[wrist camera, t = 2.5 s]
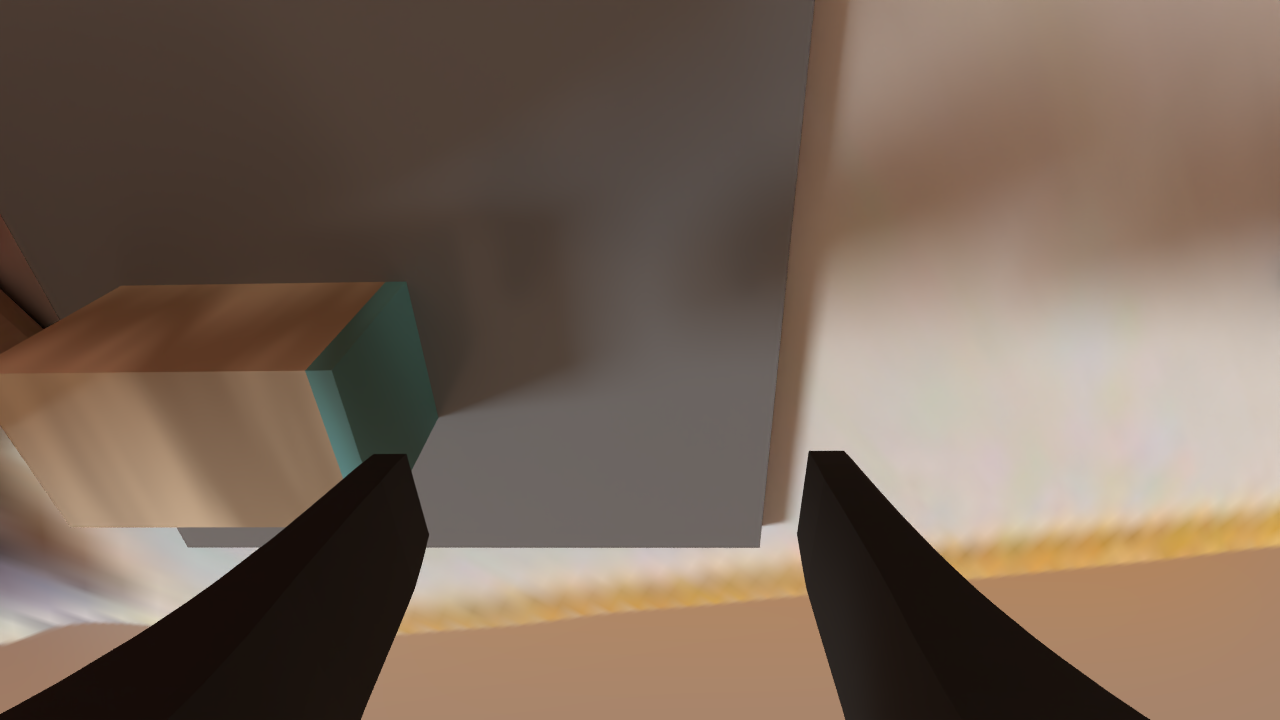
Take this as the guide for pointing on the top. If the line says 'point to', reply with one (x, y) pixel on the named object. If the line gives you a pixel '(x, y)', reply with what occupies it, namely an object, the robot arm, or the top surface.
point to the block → (14, 324)
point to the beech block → (216, 400)
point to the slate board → (456, 221)
